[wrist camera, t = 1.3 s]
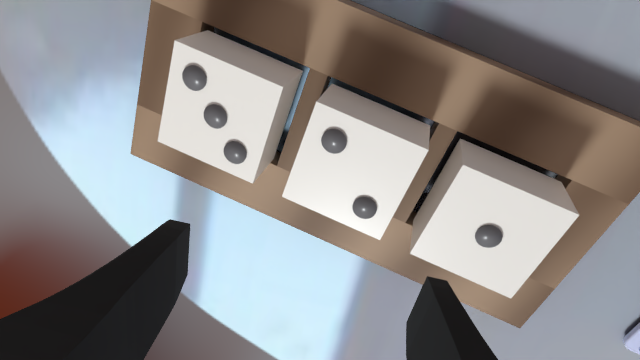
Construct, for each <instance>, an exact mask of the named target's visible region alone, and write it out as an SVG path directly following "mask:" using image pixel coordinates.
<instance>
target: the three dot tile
mask: <svg viewBox="0 0 640 360" xmlns="http://www.w3.org/2000/svg"><path fill="white" fill-rule="evenodd" d="M302 72H303V71H302V70H300V69H297V68H295V67H293V66H290V65H288V64H286V63H283V62H281V61H279V60H276V59H274V58H272V57H269V56H267V55H265V54H262V53H260V52H258V51H255V50H253V49H251V48H248V47H246V46H244V45H241V44H239V43H237V42H234V41H232V40H230V39H227V38H225V37H223V36H220V35H218V34H216V33H213V32H211V31H209V30H206V31H203V32H200V33H197V34H193V35H190V36H187V37H184V38H180V39H177V40H175V41H174V47H173V53H172V59H171V65H170V71H169V77H168V82H167V88H166V94H165V100H164V106H163V112H162V118H161V124H160V130H159V136H158V142H160V143H162V144H165V145H167V146H169V147H171V148H174V149H176V150H178V151H180V152H183V153H185V154H187V155H189V156H192V157H194V158H196V159H198V160H201V161H203V162H205V163H207V164H210V165H212V166H214V167H216V168H219V169H221V170H223V171H225V172H228V173H230V174H232V175H234V176H237V177H239V178H241V179H243V180H246V181H248V182H250V183H252V184H253V183H254V182H255V180H256V179H257V178H258V177H259V176H260V174H261V173H262V172H263V171H264V170H265V168H266V167H267V166H268V165H269V164H270V162H271V161H272V160H273V159H274V157H275V154H276V151H277V148H278V145H279V142H280V139H281V136H282V133H283V130H284V127H285V124H286V121H287V117H288V114H289V111H290V108H291V105H292V102H293V99H294V96H295V93H296V90H297V87H298V84H299V81H300V78H301V75H302Z"/></svg>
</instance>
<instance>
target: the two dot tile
mask: <svg viewBox="0 0 640 360" xmlns="http://www.w3.org/2000/svg"><path fill="white" fill-rule="evenodd" d="M429 137H430V125H428V124H425V123H423V122H421V121H418V120H416V119H414V118H411V117H409V116H407V115H404V114H402V113H400V112H397V111H395V110H393V109H390V108H388V107H386V106H383V105H381V104H379V103H376V102H374V101H372V100H369V99H367V98H365V97H362V96H360V95H358V94H355V93H353V92H351V91H348V90H346V89H344V88H341V87H339V86H337V85H335V84H331V85H330V86H329V87H328V89H327V90H326V91H325V92H324V93H323V94H322V95H321V97H320V98H319V99H318V100H317V101H316V104H315V106H314V109H313V112H312V115H311V117H310V120H309V123H308V126H307V128H306V131H305V134H304V137H303V139H302V142H301V145H300V148H299V151H298V153H297V156H296V159H295V162H294V164H293V167H292V170H291V173H290V175H289V178H288V181H287V184H286V186H285V189H284V192H283V195H282V197H284V198H286V199H288V200H290V201H293V202H295V203H297V204H299V205H302V206H304V207H306V208H308V209H311V210H313V211H315V212H317V213H320V214H322V215H324V216H326V217H329V218H331V219H333V220H335V221H338V222H340V223H342V224H344V225H347V226H349V227H351V228H353V229H356V230H358V231H360V232H362V233H365V234H367V235H369V236H371V237H374V238H376V239H378V240H380V239H381V237H382V236H383V234H384V232H385V230H386V228H387V226H388V224H389V223H390V221H391V219H392V217H393V215H394V213H395V211H396V210H397V208H398V206H399V204H400V202H401V200H402V199H403V197H404V195H405V193H406V191H407V189H408V187H409V186H410V184H411V182H412V180H413V178H414V176H415V174H416V173H417V171H418V169H419V167H420V165H421V163H422V161H423V160H424V158H425V156H426V154H427V152H428V150H429Z"/></svg>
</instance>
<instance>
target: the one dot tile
mask: <svg viewBox="0 0 640 360" xmlns="http://www.w3.org/2000/svg"><path fill="white" fill-rule="evenodd" d="M578 216H579V213H578V211H577V210H576V208H575V206H574V204H573V202H572V200H571V199H570V197H569V195H568V193H567V191H566V189H565V187H564V186H563V184H562V182H561V181H558V180H556V179H554V178H551V177H549V176H547V175H544V174H542V173H540V172H537V171H535V170H533V169H530V168H528V167H526V166H523V165H521V164H519V163H516V162H514V161H512V160H509V159H507V158H505V157H502V156H500V155H498V154H495V153H493V152H491V151H488V150H486V149H484V148H481V147H479V146H477V145H474V144H472V143H470V142H467V141H465V140H463V139H460V140H459V141H458V143H457V145H456V146H455V148H454V150H453V152H452V153H451V155H450V157H449V159H448V160H447V162H446V164H445V166H444V167H443V169H442V171H441V173H440V174H439V176H438V178H437V180H436V181H435V183H434V185H433V187H432V188H431V190H430V192H429V194H428V195H427V197H426V199H425V201H424V202H423V204H422V206H421V207H420V209H419V211H418V213H417V214H416V216H415V218H414V220H413V228H412V238H411V247H410V254H412V255H414V256H416V257H419V258H421V259H423V260H425V261H427V262H430V263H432V264H434V265H436V266H439V267H441V268H443V269H445V270H448V271H450V272H452V273H454V274H457V275H459V276H461V277H463V278H466V279H468V280H470V281H472V282H475V283H477V284H479V285H481V286H484V287H486V288H488V289H490V290H493V291H495V292H497V293H499V294H502V295H504V296H506V297H508V298H512V297H513V296H514V295H515V293H516V292H517V291H518V290H519V288H520V287H521V286H522V285H523V284H524V282H525V281H526V280H527V279H528V277H529V276H530V275H531V274H532V273H533V271H534V270H535V269H536V268H537V266H538V265H539V264H540V263H541V262H542V260H543V259H544V258H545V257H546V255H547V254H548V253H549V252H550V251H551V249H552V248H553V247H554V246H555V244H556V243H557V242H558V241H559V240H560V238H561V237H562V236H563V235H564V233H565V232H566V231H567V230H568V229H569V227H570V226H571V225H572V224H573V222H574V221H575V220H576V219H577V218H578Z"/></svg>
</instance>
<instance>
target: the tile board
mask: <svg viewBox="0 0 640 360" xmlns="http://www.w3.org/2000/svg"><path fill="white" fill-rule="evenodd" d="M214 27H216V28H218V29H220V30H223V31H225V32H227V33H230V34H232V35H234V36H237V37H239V38H241V39H244V40H246V41H248V42H251V43H253V44H255V45H258V46H260V47H262V48H265V49H267V50H269V51H272V52H274V53H276V54H279V55H281V56H283V57H286V58H288V59H290V60H293V61H295V62H297V63H300V64H302V65H304V66H307V67H309V68H310V70H309V73H308V76H307V79H306V82H305V85H304V88H303V91H302V94H301V97H300V100H299V102H298V105H297V108H296V111H295V114H294V117H293V120H292V123H291V126H290V129H289V132H288V135H287V138H286V141H285V144H284V147H283V149H282V152H281V153H280V152H277V151H276V154H275V157H274V159H273V160H272V161H271V162H270V164H269V165H268V166H267V167H266V168H265V170H264V171H263V172H262V173H261V174H260V176H259V177H258V178H257V179H256V180H255V182H254V183H253V184H252V183H250V182H248V181H246V180H243V179H241V178H239V177H237V176H234V175H232V174H230V173H228V172H225V171H223V170H221V169H219V168H216V167H214V166H212V165H210V164H207V163H205V162H203V161H201V160H198V159H196V158H194V157H192V156H189V155H187V154H185V153H183V152H180V151H178V150H176V149H174V148H171V147H169V146H167V145H165V144H162V143H160V142H158V136H159V130H160V124H161V118H162V112H163V106H164V100H165V94H166V88H167V82H168V77H169V71H170V65H171V59H172V53H173V47H174V41H175V40H177V39H180V38H184V37H187V36H190V35H193V34H197V33H200V32H203V31H206V30H209V31H211V32H214ZM331 77H332V78H335V79H337V80H339V81H342V82H344V83H346V84H349V85H351V86H353V87H356V88H358V89H360V90H363V91H365V92H367V93H370V94H372V95H374V96H377V97H379V98H381V99H384V100H386V101H388V102H391V103H393V104H395V105H398V106H400V107H402V108H405V109H407V110H409V111H412V112H414V113H416V114H419V115H421V116H423V117H426V118H428V119H430V120H433V121H435V122H434V124H433V126H432V128H431V130H430V137H429V150H428V152H427V154H426V156H425V158H424V160H423V161H422V163H421V165H420V167H419V169H418V171H417V173H416V174H415V176H414V178H413V180H412V182H411V184H410V186H409V187H408V189H407V191H406V193H405V195H404V197H403V199H402V200H401V202H400V204H399V206H398V208H397V210H396V211H395V213H394V215H393V217H392V219H391V221H390V223H389V224H388V226H387V228H386V230H385V232H384V234H383V236H382V237H381V239H380V240H378V239H376V238H374V237H371V236H369V235H367V234H365V233H362V232H360V231H358V230H356V229H353V228H351V227H349V226H347V225H344V224H342V223H340V222H338V221H335V220H333V219H331V218H329V217H326V216H324V215H322V214H320V213H317V212H315V211H313V210H311V209H308V208H306V207H304V206H302V205H299V204H297V203H295V202H293V201H290V200H288V199H286V198H284V197H282V195H283V192H284V189H285V186H286V184H287V181H288V178H289V175H290V173H291V170H292V167H293V164H294V162H295V159H296V156H297V153H298V151H299V148H300V145H301V142H302V139H303V137H304V134H305V131H306V128H307V126H308V123H309V120H310V117H311V115H312V112H313V109H314V106H315V104H316V101H317V100H318V99H319V98H320V97H321V95H322V94H323V93H324V92H325V91H326V90H327V88H328V85H329V82H330V80H331ZM457 131H459V132H461V133H463V134H466V135H468V136H470V137H473V138H475V139H477V140H480V141H482V142H484V143H487V144H489V145H491V146H494V147H496V148H498V149H501V150H503V151H505V152H508V153H510V154H512V155H515V156H517V157H519V158H522V159H524V160H526V161H529V162H531V163H533V164H536V165H538V166H540V167H543V168H545V169H547V170H550V171H552V172H554V173H557V174H558V175H557V177H556V178H555V179H556V180H558V181H561V182H562V184H563V186H564V187H565V189H566V191H567V193H568V195H569V197H570V199H571V200H572V202H573V204H574V206H575V208H576V210H577V211H578V213H579V216H578V218H577V219H576V220H575V221H574V222H573V224H572V225H571V226H570V227H569V229H568V230H567V231H566V232H565V233H564V235H563V236H562V237H561V238H560V240H559V241H558V242H557V243H556V244H555V246H554V247H553V248H552V249H551V251H550V252H549V253H548V254H547V255H546V257H545V258H544V259H543V260H542V262H541V263H540V264H539V265H538V266H537V268H536V269H535V270H534V271H533V273H532V274H531V275H530V276H529V277H528V279H527V280H526V281H525V282H524V284H523V285H522V286H521V287H520V288H519V290H518V291H517V292H516V293H515V295H514V296H513V297H512V298H508V297H506V296H504V295H502V294H499V293H497V292H495V291H493V290H490V289H488V288H486V287H484V286H481V285H479V284H477V283H475V282H472V281H470V280H468V279H466V278H463V277H461V276H459V275H457V274H454V273H452V272H450V271H448V270H445V269H443V268H441V267H439V266H436V265H434V264H432V263H430V262H427V261H425V260H423V259H421V258H419V257H416V256H414V255H412V254H410V247H411V238H412V228H413V220H414V218H415V216H416V214H417V213H416V212H414V211H412V210H413V209H414V207H415V205H416V203H417V202H418V200H419V198H420V196H421V195H422V193H423V191H424V189H425V187H426V186H427V184H428V182H429V180H430V179H431V177H432V175H433V173H434V171H435V170H436V168H437V166H438V164H439V163H440V161H441V159H442V157H443V156H444V154H445V152H446V150H447V148H448V147H449V145H450V143H451V141H452V140H453V138H454V136H455V134H456V132H457ZM131 154H132V155H134V156H137V157H139V158H141V159H143V160H146V161H148V162H150V163H152V164H155V165H157V166H159V167H161V168H163V169H166V170H168V171H170V172H172V173H175V174H177V175H179V176H181V177H184V178H186V179H188V180H190V181H192V182H195V183H197V184H199V185H201V186H204V187H206V188H208V189H210V190H213V191H215V192H217V193H219V194H221V195H224V196H226V197H228V198H230V199H233V200H235V201H237V202H239V203H242V204H244V205H246V206H248V207H250V208H253V209H255V210H257V211H259V212H262V213H264V214H266V215H268V216H271V217H273V218H275V219H277V220H279V221H282V222H284V223H286V224H288V225H291V226H293V227H295V228H297V229H300V230H302V231H304V232H306V233H308V234H311V235H313V236H315V237H317V238H320V239H322V240H324V241H326V242H329V243H331V244H333V245H335V246H337V247H340V248H342V249H344V250H346V251H349V252H351V253H353V254H355V255H358V256H360V257H362V258H364V259H366V260H369V261H371V262H373V263H375V264H378V265H380V266H382V267H384V268H387V269H389V270H391V271H393V272H395V273H398V274H400V275H402V276H404V277H407V278H409V279H411V280H413V281H416V282H418V283H420V284H422V285H423V284H424V282H425V280H426V277H427V276H429V277H433V278H438V279H442V280H447V281H448V283H449V285H450V286H451V288H452V289H453V291H454V293H455V294H456V296H457V298H458V299H459V301H460V302H462V303H465V304H467V305H469V306H471V307H474V308H476V309H478V310H480V311H482V312H485V313H487V314H489V315H491V316H494V317H496V318H498V319H500V320H503V321H505V322H507V323H509V324H511V325H514V326H516V327H518V328H521V327H522V325H523V324H524V323H525V322H526V321H527V320H528V319H529V317H530V316H531V315H532V314H533V313H534V312H535V311H536V309H537V308H538V307H539V306H540V305H541V304H542V303H543V301H544V300H545V299H546V298H547V297H548V296H549V295H550V294H551V292H552V291H553V290H554V289H555V288H556V287H557V286H558V284H559V283H560V282H561V281H562V280H563V279H564V278H565V276H566V275H567V274H568V273H569V272H570V271H571V270H572V268H573V267H574V266H575V265H576V264H577V263H578V262H579V260H580V259H581V258H582V257H583V256H584V255H585V254H586V252H587V251H588V250H589V249H590V248H591V247H592V246H593V244H594V243H595V242H596V241H597V240H598V239H599V238H600V237H601V235H602V234H603V233H604V232H605V231H606V230H607V229H608V227H609V226H610V225H611V224H612V223H613V222H614V221H615V219H616V218H617V217H618V216H619V215H620V214H621V213H622V211H623V210H624V209H625V208H626V207H627V206H628V205H629V203H630V202H631V201H632V200H633V199H634V198H635V197H636V195H637V194H638V193H639V192H640V121H638V120H635V119H633V118H631V117H628V116H626V115H623V114H621V113H619V112H616V111H614V110H612V109H609V108H607V107H604V106H602V105H600V104H597V103H595V102H592V101H590V100H588V99H585V98H583V97H580V96H578V95H576V94H573V93H571V92H568V91H566V90H564V89H561V88H559V87H556V86H554V85H552V84H549V83H547V82H545V81H542V80H540V79H537V78H535V77H533V76H530V75H528V74H525V73H523V72H521V71H518V70H516V69H513V68H511V67H509V66H506V65H504V64H501V63H499V62H497V61H494V60H492V59H489V58H487V57H485V56H482V55H480V54H478V53H475V52H473V51H470V50H468V49H466V48H463V47H461V46H458V45H456V44H454V43H451V42H449V41H446V40H444V39H442V38H439V37H437V36H434V35H432V34H430V33H427V32H425V31H423V30H420V29H418V28H415V27H413V26H411V25H408V24H406V23H403V22H401V21H399V20H396V19H394V18H391V17H389V16H387V15H384V14H382V13H379V12H377V11H375V10H372V9H370V8H367V7H365V6H363V5H360V4H358V3H356V2H353V1H351V0H151V5H150V13H149V20H148V28H147V35H146V43H145V50H144V57H143V65H142V72H141V80H140V87H139V95H138V102H137V110H136V117H135V124H134V132H133V139H132V147H131Z"/></svg>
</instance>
